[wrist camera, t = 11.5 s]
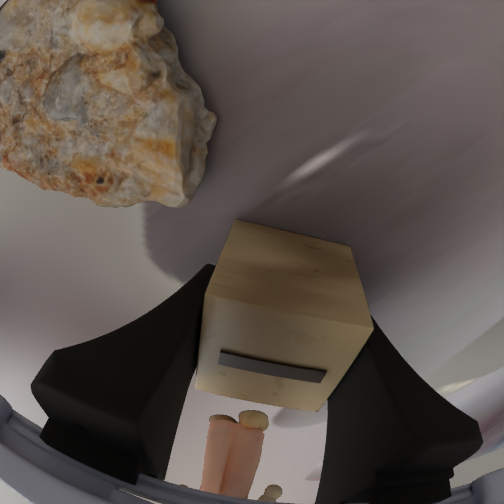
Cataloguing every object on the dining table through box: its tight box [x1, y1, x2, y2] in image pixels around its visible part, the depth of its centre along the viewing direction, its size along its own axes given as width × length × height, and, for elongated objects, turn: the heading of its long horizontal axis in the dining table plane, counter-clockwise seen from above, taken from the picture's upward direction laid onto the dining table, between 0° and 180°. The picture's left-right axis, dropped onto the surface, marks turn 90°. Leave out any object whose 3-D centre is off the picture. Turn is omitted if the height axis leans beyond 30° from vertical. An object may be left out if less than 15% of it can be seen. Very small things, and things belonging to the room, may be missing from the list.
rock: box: [0, 0, 217, 208], centre depth 7 cm, size 9×6×10 cm
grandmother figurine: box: [180, 410, 282, 502], centre depth 14 cm, size 8×4×13 cm, turn 129°
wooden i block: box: [195, 220, 374, 412], centre depth 10 cm, size 4×4×5 cm
